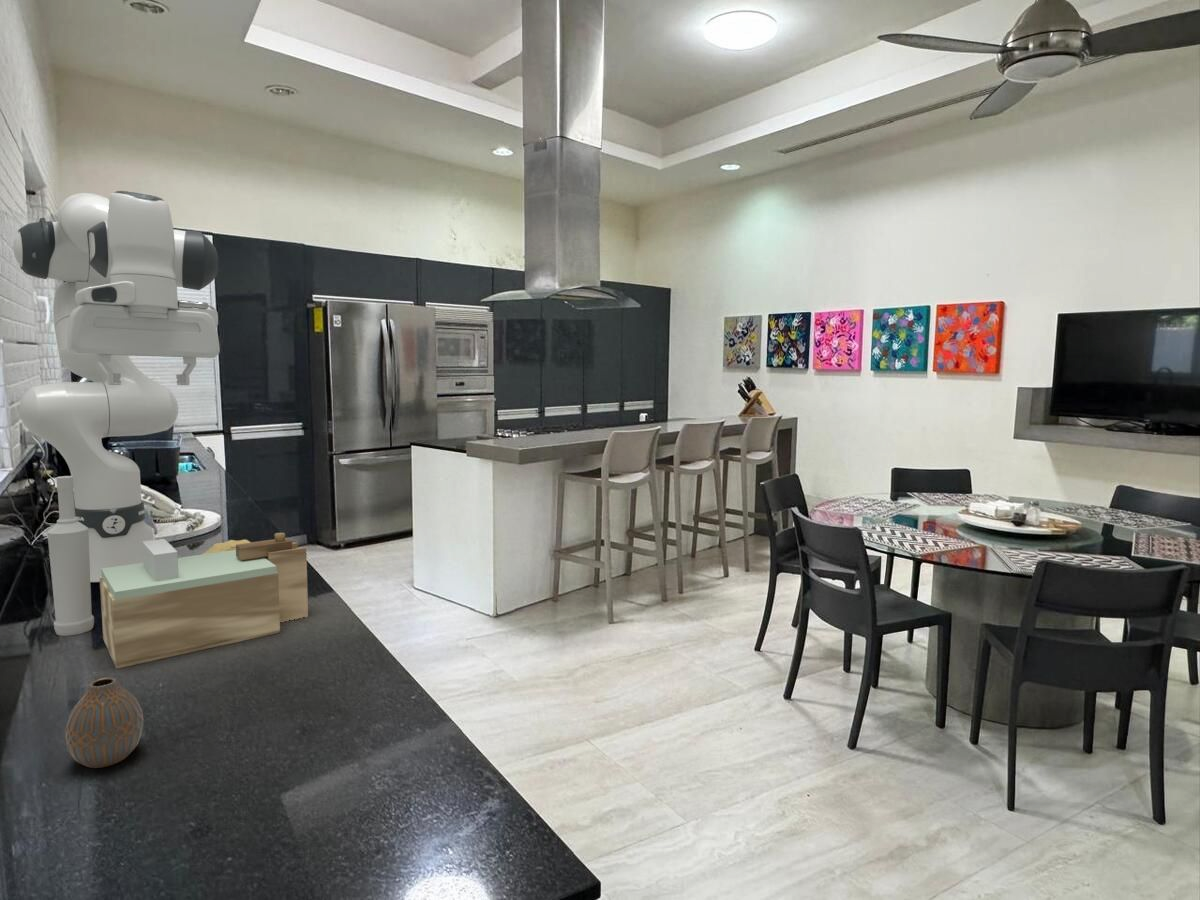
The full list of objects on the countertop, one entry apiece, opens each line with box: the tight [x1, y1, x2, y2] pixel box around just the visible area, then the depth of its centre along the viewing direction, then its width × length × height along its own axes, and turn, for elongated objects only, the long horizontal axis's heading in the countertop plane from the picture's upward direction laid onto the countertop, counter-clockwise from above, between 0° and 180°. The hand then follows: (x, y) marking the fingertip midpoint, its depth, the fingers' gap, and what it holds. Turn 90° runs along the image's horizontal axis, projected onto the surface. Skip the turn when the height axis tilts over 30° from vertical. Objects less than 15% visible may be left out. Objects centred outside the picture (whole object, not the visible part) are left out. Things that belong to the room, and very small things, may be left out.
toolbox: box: [99, 542, 309, 670], centre depth 111 cm, size 14×28×12 cm, turn 132°
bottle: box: [46, 475, 95, 637], centre depth 110 cm, size 5×5×25 cm
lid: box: [101, 538, 277, 600], centre depth 109 cm, size 14×21×5 cm
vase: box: [65, 676, 144, 769], centre depth 75 cm, size 7×7×9 cm
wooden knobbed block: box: [236, 532, 293, 560], centre depth 116 cm, size 3×8×3 cm, turn 132°
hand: (149, 385), depth 110 cm, fingers open, 8 cm apart
